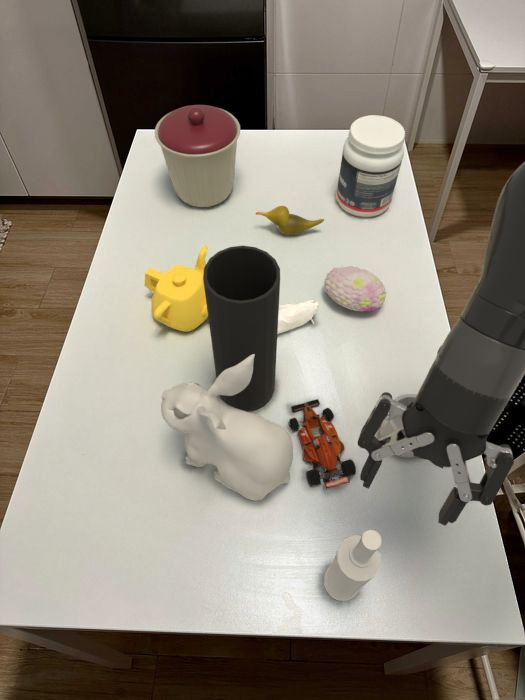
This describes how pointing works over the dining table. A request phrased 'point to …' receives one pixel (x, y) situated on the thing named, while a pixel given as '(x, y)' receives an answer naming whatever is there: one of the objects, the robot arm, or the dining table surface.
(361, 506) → the dining table surface
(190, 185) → the canister
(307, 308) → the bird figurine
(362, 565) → the bottle
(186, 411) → the rabbit
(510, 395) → the robot arm
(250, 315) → the vase
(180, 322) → the teapot
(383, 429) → the stand
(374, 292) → the decorative item
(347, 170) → the supplement tub
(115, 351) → the dining table surface
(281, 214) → the olive yellow toy bird
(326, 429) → the toy car
